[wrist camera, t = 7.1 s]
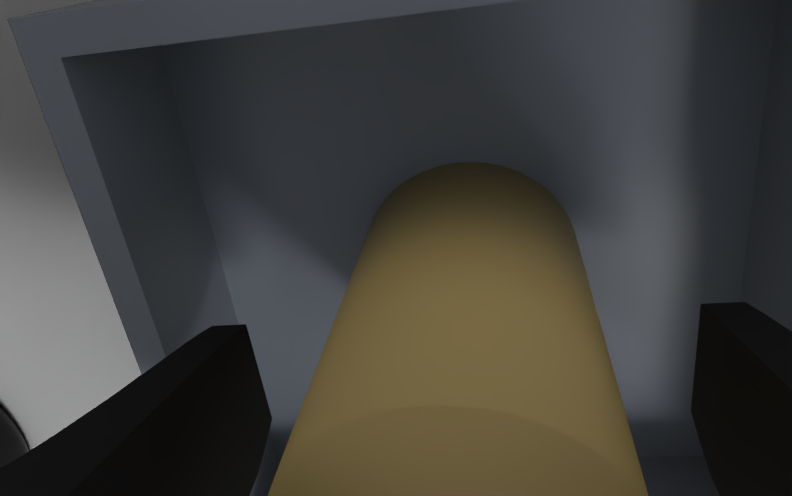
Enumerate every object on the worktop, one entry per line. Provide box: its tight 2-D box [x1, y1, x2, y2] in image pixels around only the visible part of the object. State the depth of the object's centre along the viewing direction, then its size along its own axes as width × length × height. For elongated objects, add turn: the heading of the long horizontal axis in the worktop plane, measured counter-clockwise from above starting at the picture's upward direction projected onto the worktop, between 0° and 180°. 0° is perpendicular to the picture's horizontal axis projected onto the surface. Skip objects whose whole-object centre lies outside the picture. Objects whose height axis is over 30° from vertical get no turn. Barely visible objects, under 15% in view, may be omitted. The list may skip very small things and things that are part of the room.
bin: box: [8, 0, 792, 496], centre depth 12 cm, size 12×12×4 cm
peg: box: [268, 162, 649, 496], centre depth 10 cm, size 4×4×7 cm
